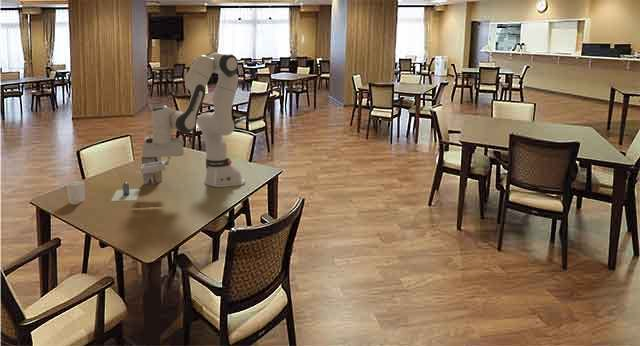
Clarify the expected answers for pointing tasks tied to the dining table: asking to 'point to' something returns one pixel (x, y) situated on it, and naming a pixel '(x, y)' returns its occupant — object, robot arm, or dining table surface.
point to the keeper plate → (132, 196)
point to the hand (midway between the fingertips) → (164, 164)
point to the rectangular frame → (153, 167)
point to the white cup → (76, 192)
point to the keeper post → (125, 189)
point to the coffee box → (153, 176)
